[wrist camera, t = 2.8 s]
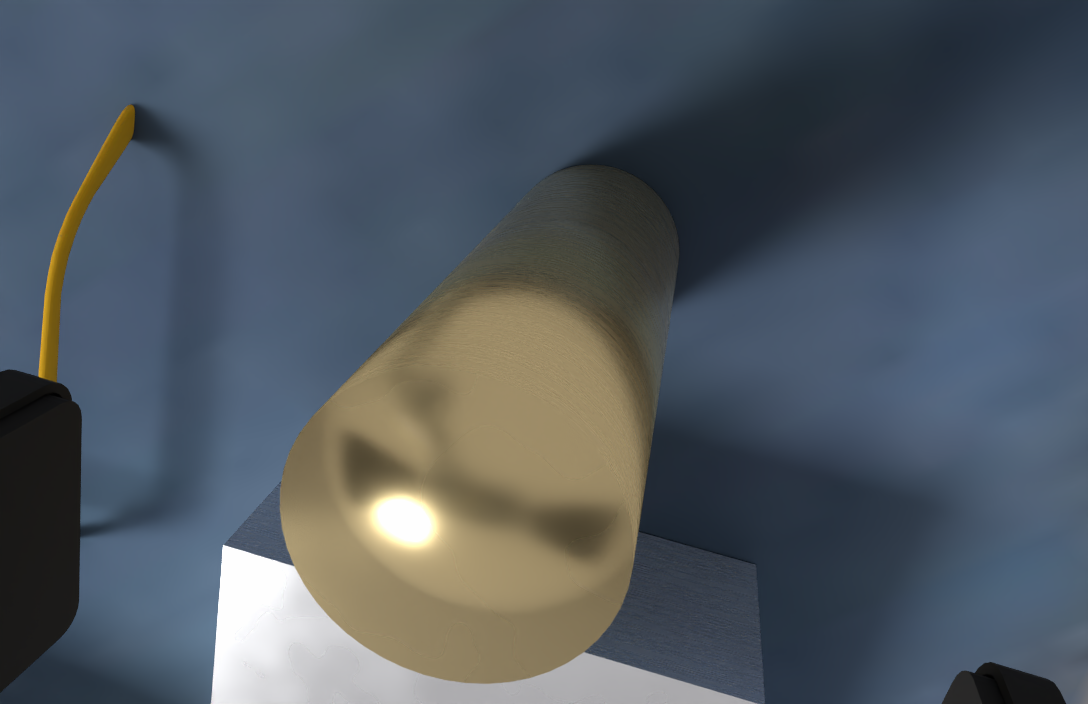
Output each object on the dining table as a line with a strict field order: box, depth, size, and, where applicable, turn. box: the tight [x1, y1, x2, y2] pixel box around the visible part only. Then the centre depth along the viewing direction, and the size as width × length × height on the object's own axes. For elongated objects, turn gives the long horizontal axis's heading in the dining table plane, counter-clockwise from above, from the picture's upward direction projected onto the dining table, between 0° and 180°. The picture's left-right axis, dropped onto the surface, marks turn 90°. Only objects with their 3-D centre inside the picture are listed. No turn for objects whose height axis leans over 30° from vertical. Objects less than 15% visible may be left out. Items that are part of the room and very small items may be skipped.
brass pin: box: [280, 165, 679, 684], centre depth 15 cm, size 4×4×12 cm
